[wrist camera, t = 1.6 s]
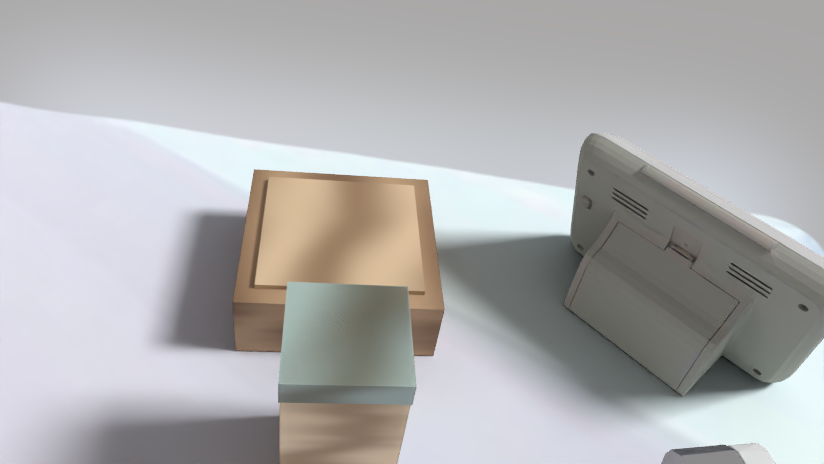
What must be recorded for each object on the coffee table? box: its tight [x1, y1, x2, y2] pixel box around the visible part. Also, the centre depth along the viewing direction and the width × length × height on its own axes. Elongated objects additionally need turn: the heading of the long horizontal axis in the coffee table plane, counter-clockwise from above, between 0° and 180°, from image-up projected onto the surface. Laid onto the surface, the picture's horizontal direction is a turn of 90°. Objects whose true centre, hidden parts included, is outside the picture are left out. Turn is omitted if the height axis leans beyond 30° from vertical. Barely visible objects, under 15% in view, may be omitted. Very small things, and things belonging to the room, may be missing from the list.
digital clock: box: [563, 133, 824, 396], centre depth 41 cm, size 16×9×11 cm, turn 32°
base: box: [233, 170, 444, 356], centre depth 42 cm, size 11×11×4 cm
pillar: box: [278, 282, 416, 464], centre depth 31 cm, size 5×5×10 cm
